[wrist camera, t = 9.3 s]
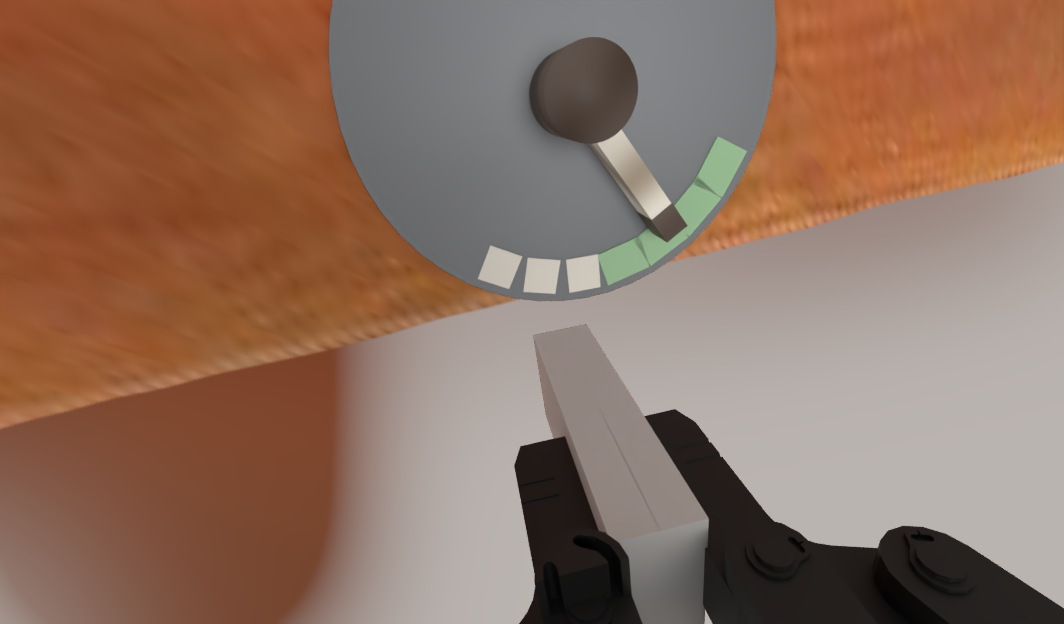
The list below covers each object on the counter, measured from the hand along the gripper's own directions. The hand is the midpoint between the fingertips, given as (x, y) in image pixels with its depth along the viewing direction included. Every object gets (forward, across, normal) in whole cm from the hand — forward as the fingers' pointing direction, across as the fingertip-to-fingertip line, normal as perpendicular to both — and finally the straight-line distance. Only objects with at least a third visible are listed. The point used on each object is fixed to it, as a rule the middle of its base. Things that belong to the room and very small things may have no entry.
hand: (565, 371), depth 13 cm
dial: (+21, +6, +7) cm, 22 cm away
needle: (+20, +8, +3) cm, 21 cm away
